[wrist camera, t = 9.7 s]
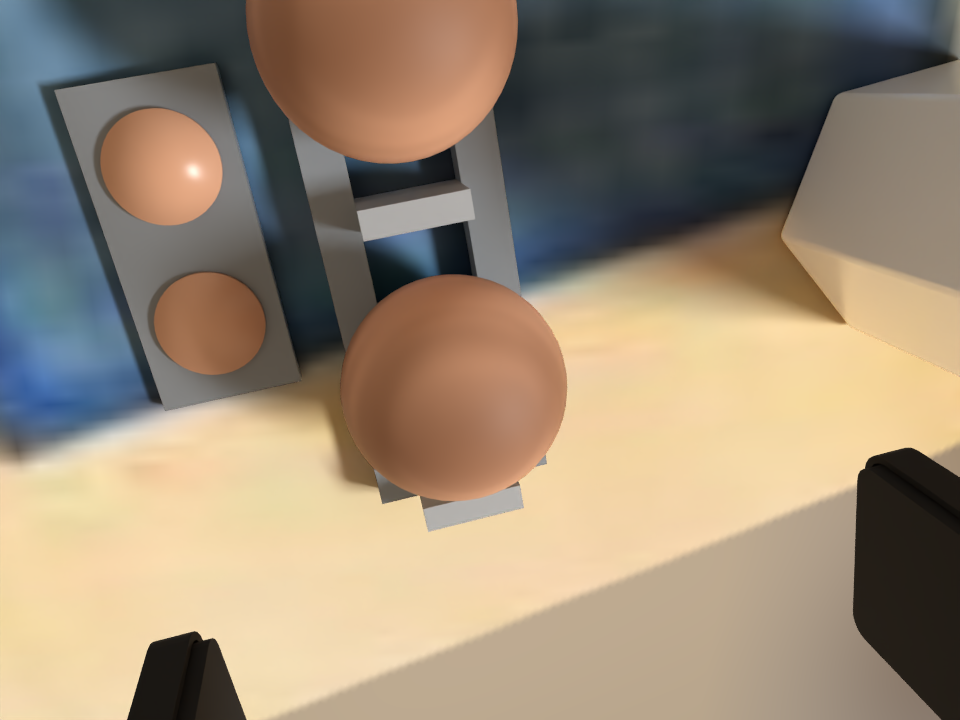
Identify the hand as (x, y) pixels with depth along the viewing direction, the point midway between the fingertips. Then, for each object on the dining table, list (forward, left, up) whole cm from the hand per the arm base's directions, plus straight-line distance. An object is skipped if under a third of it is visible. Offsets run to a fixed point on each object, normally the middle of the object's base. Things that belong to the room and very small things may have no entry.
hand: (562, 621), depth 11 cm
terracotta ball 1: (-8, 0, -13) cm, 16 cm away
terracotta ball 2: (0, 0, -13) cm, 13 cm away
